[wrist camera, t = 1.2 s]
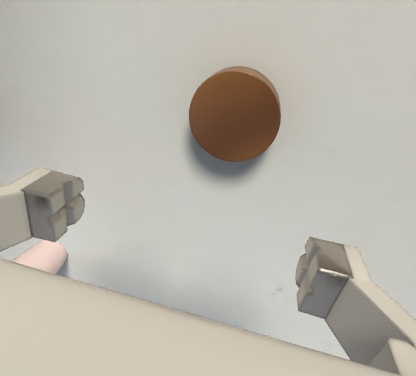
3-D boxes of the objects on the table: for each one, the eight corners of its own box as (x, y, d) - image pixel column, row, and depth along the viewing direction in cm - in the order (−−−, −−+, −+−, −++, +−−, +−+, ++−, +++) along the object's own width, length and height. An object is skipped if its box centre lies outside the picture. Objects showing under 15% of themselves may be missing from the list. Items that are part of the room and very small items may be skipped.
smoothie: (68, 231, 33) (-50, 346, 21) (84, 272, 36) (-12, 394, 24) (21, 228, 35) (-115, 334, 23) (40, 268, 38) (-72, 381, 26)
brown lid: (180, 99, 23) (171, 106, 21) (250, 46, 21) (248, 48, 18) (225, 164, 25) (221, 176, 23) (296, 124, 22) (298, 133, 20)
